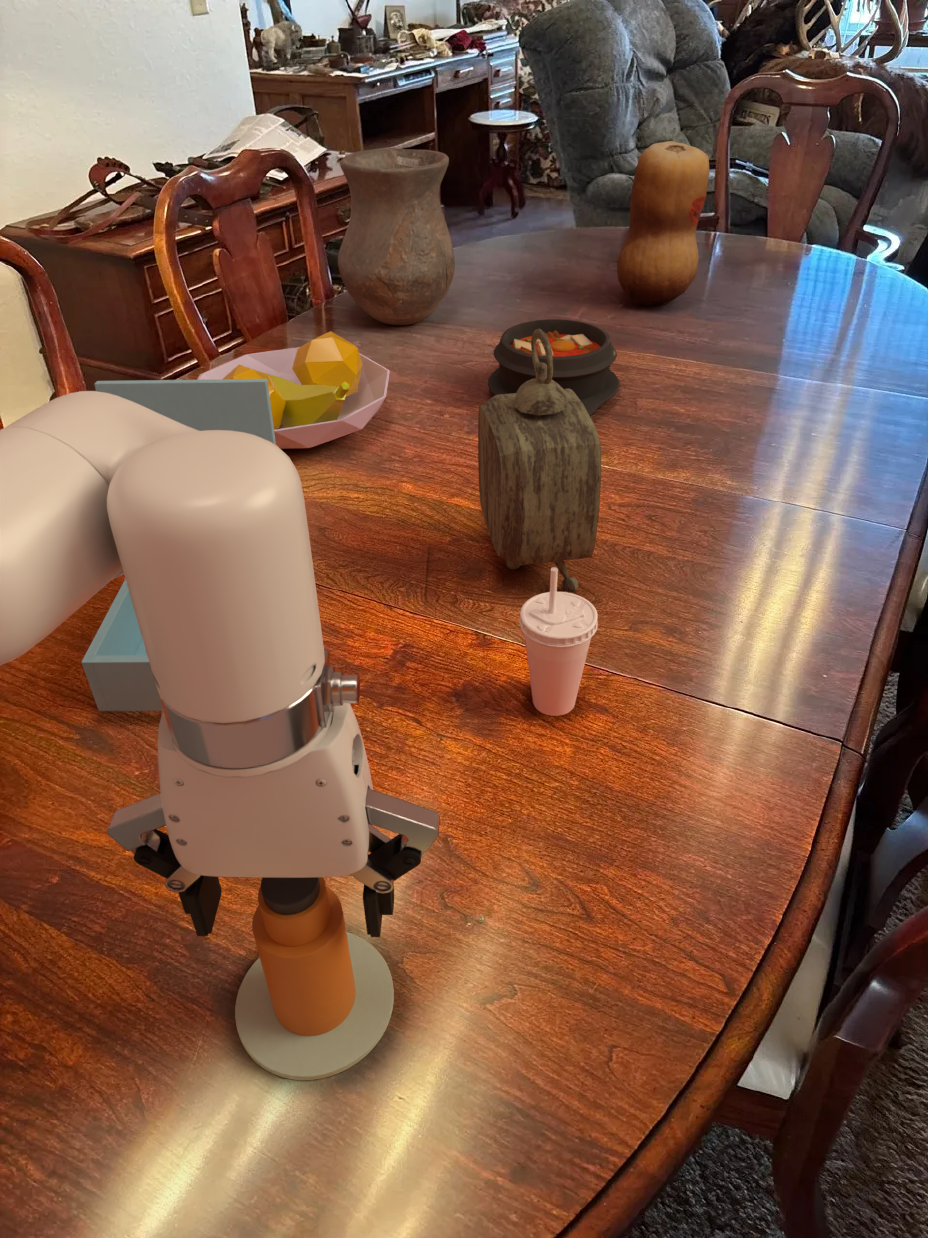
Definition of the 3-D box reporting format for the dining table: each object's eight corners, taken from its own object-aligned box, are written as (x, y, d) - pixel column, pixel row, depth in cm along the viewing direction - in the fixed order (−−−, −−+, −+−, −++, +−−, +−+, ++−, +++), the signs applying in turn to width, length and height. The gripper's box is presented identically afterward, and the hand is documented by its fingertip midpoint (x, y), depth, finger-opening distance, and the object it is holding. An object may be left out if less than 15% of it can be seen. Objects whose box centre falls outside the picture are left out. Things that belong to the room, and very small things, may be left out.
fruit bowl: (186, 402, 131) (169, 324, 124) (371, 375, 138) (364, 299, 131) (205, 495, 110) (186, 407, 103) (422, 458, 117) (418, 373, 110)
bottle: (266, 1036, 56) (232, 920, 49) (281, 959, 61) (252, 842, 53) (351, 1036, 56) (330, 921, 49) (359, 960, 60) (341, 842, 53)
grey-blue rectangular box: (270, 717, 80) (259, 661, 76) (100, 718, 80) (80, 662, 76) (298, 607, 92) (290, 554, 88) (152, 608, 92) (136, 555, 88)
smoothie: (516, 676, 83) (519, 546, 75) (588, 677, 83) (599, 547, 74) (517, 726, 78) (521, 593, 70) (593, 727, 78) (606, 593, 69)
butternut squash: (674, 321, 153) (694, 156, 138) (601, 307, 159) (613, 148, 144) (705, 297, 162) (727, 140, 147) (635, 285, 168) (649, 132, 153)
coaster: (220, 1080, 55) (218, 1076, 55) (253, 932, 63) (251, 928, 62) (387, 1081, 55) (387, 1077, 54) (399, 932, 63) (398, 928, 62)
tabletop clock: (591, 601, 92) (611, 360, 77) (503, 611, 91) (505, 369, 76) (556, 525, 103) (567, 302, 88) (477, 534, 102) (474, 310, 87)
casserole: (616, 438, 120) (622, 376, 115) (475, 430, 123) (475, 370, 117) (620, 363, 140) (625, 308, 134) (499, 358, 142) (499, 303, 137)
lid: (265, 381, 79) (275, 364, 82) (93, 383, 79) (111, 366, 83) (288, 552, 88) (296, 530, 91) (134, 553, 88) (149, 531, 92)
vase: (343, 302, 164) (328, 147, 148) (450, 296, 165) (446, 142, 150) (344, 343, 148) (327, 174, 133) (462, 336, 150) (458, 168, 134)
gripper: (437, 645, 46) (444, 862, 56) (89, 644, 46) (162, 861, 56) (431, 756, 40) (440, 975, 50) (32, 755, 40) (125, 973, 50)
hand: (293, 915), depth 53 cm, fingers open, 9 cm apart
